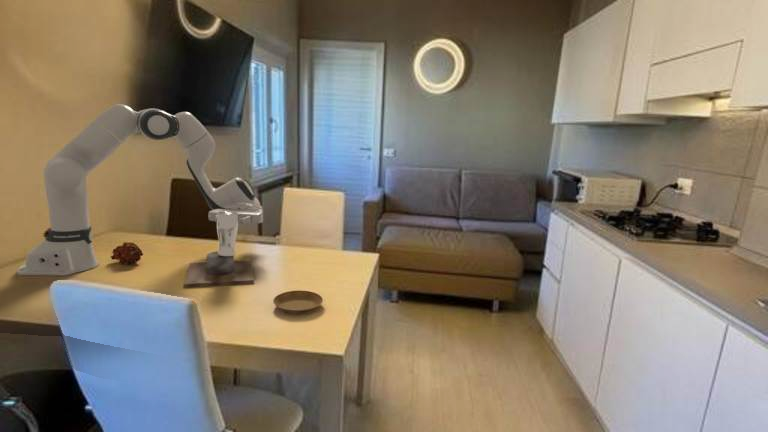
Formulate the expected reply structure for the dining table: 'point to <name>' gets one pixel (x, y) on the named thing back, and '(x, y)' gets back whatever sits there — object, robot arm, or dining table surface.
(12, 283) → the dining table surface
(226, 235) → the beer glass
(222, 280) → the post stand
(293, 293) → the plant saucer
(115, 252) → the brown pine cone
